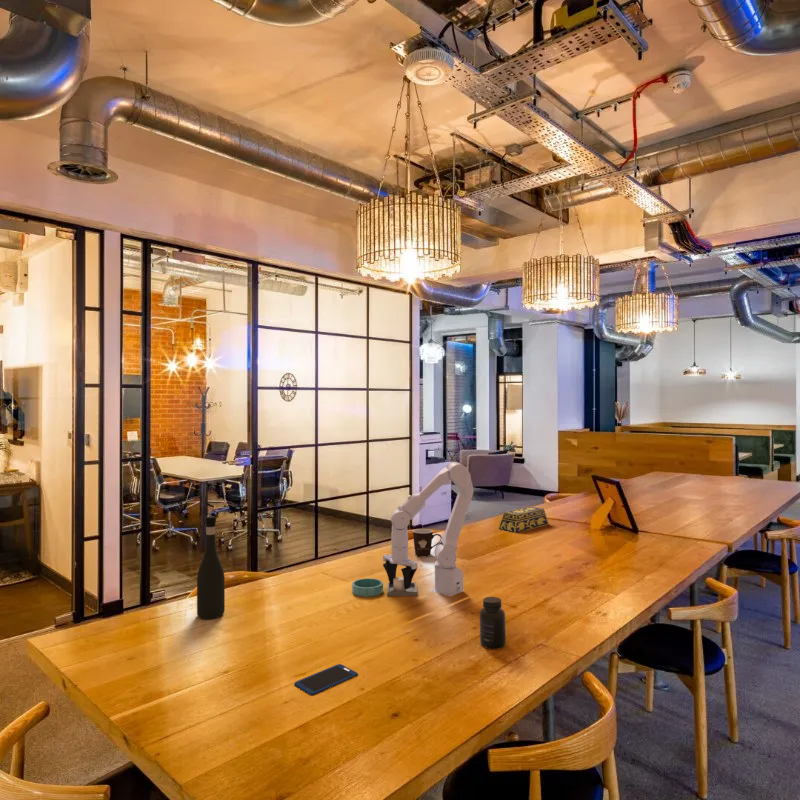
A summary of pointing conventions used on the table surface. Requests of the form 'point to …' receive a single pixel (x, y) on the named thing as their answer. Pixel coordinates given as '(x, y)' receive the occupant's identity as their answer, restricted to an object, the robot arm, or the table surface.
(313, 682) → the cell phone
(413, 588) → the parts tray
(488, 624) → the supplement bottle
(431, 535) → the coffee mug
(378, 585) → the bowl
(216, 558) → the wine bottle
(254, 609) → the table surface
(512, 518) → the decorative box
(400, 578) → the stone
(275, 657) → the table surface
